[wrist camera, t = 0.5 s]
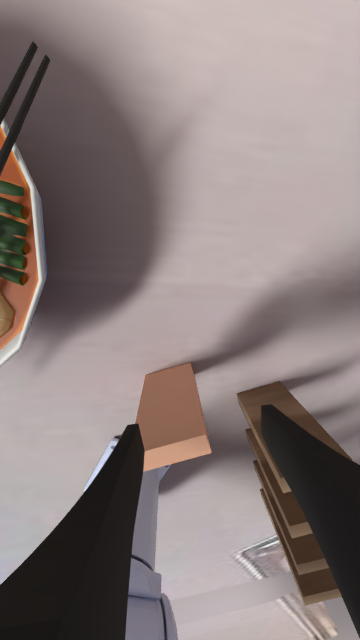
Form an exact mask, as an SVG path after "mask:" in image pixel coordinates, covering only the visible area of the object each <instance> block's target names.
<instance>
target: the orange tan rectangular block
mask: <svg viewBox="0 0 360 640" xmlns="http://www.w3.org/2000/svg"><path fill="white" fill-rule="evenodd" d="M135 424H139V428H140V432H141V437H142V441H143V445H144V450H145V454H144V470H143V472H144V471H148V470H151V469H155V468H159V467H162V466H166V465H170V464H173V463H177V462H181V461H184V460H188V459H192V458H195V457H199V456H203V455H206V454H210V453H212V452H211V447H210V443H209V438H208V434H207V429H206V425H205V420H204V416H203V412H202V407H201V403H200V398H199V394H198V389H197V385H196V380H195V376H194V372H193V369H192V366H191V363H190V362H189V363H186V364H182V365H179V366H175V367H172V368H168V369H165V370H161V371H158V372H155V373H151V374H148V375H145V380H144V385H143V390H142V394H141V399H140V404H139V409H138V414H137V418H136V423H135Z"/></svg>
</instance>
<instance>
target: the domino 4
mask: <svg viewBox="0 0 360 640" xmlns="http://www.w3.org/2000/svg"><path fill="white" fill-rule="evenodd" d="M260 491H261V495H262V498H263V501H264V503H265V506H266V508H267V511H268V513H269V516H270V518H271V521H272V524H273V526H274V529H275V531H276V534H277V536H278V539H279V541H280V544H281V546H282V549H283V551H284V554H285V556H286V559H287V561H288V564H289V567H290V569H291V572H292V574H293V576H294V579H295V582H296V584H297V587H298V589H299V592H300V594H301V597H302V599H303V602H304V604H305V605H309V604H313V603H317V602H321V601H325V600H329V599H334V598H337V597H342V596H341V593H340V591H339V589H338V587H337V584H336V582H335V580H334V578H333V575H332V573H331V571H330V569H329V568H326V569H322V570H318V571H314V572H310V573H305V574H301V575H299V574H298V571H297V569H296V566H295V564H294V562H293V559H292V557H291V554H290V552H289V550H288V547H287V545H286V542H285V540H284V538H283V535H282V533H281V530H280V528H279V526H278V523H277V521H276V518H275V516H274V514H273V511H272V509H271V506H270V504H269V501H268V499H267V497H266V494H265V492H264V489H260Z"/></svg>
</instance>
